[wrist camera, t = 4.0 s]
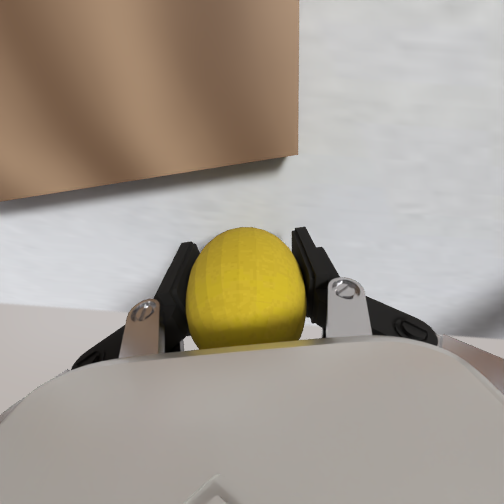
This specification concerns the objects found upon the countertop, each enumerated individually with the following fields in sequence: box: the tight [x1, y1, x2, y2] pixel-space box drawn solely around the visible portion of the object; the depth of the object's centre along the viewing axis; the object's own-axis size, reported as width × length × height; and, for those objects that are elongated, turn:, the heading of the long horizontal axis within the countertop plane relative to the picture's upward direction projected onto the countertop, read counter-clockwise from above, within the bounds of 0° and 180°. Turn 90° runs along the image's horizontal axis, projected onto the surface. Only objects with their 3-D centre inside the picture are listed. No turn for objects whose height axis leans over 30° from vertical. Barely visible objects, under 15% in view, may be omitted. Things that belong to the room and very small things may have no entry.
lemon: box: [186, 227, 307, 350], centre depth 9 cm, size 6×6×8 cm
